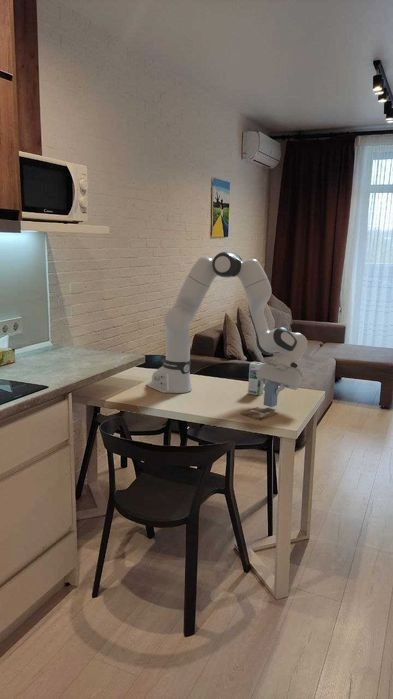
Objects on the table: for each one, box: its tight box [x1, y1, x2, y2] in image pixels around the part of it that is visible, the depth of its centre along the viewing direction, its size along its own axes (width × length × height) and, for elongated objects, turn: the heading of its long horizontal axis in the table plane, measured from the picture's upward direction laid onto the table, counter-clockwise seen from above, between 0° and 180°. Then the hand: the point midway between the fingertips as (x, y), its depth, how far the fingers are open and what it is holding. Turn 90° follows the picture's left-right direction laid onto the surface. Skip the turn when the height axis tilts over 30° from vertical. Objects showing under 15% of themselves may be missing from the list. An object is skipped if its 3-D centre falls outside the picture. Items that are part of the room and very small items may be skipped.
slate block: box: [263, 383, 279, 408], centre depth 224 cm, size 4×4×9 cm
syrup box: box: [247, 361, 266, 396], centre depth 246 cm, size 6×6×14 cm
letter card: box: [239, 406, 278, 421], centre depth 217 cm, size 10×12×1 cm
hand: (270, 392), depth 223 cm, fingers closed on slate block, 4 cm apart
